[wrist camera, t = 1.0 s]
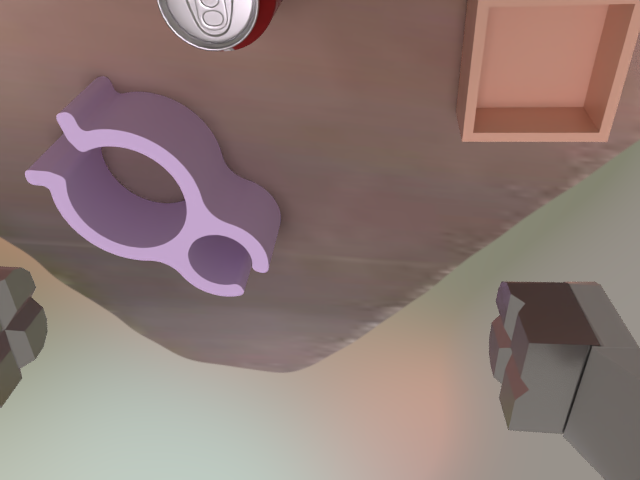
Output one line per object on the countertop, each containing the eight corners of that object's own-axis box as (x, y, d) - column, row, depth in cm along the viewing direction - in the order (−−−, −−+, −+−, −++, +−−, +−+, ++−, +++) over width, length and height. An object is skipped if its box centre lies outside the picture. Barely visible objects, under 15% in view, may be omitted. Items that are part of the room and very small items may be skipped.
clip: (308, 195, 51) (298, 242, 46) (233, 269, 58) (216, 318, 52) (112, 51, 45) (73, 85, 39) (52, 153, 51) (12, 195, 46)
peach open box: (469, -25, 38) (478, -5, 35) (623, -29, 37) (650, -9, 33) (455, 111, 45) (462, 141, 41) (587, 111, 43) (607, 141, 40)
